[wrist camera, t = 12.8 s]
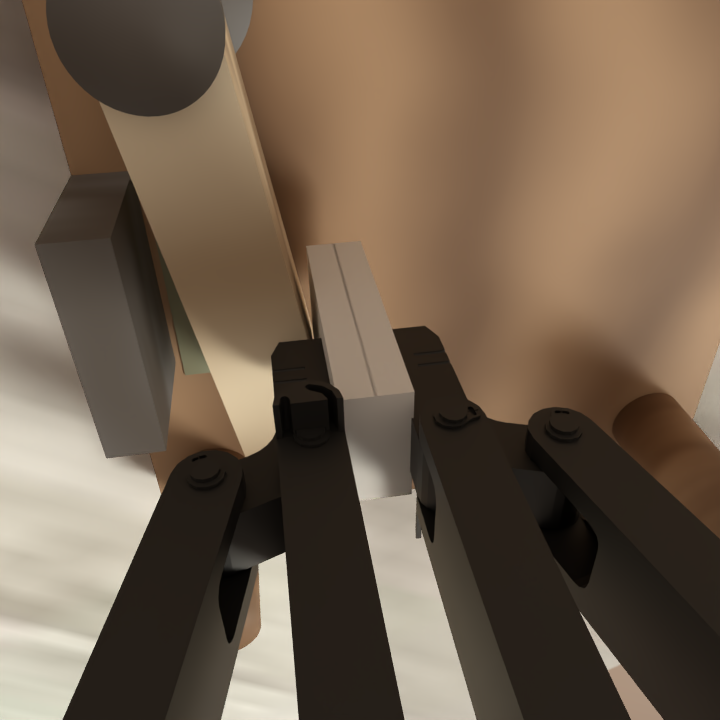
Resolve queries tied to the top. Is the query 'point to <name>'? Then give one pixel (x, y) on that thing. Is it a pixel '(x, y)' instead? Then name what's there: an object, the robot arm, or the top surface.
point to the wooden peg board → (440, 214)
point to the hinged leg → (195, 181)
